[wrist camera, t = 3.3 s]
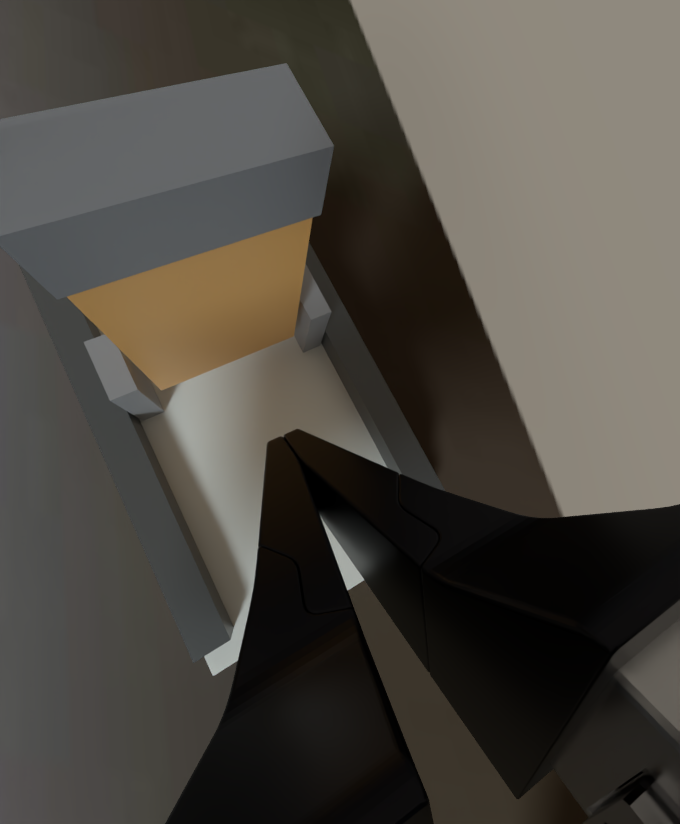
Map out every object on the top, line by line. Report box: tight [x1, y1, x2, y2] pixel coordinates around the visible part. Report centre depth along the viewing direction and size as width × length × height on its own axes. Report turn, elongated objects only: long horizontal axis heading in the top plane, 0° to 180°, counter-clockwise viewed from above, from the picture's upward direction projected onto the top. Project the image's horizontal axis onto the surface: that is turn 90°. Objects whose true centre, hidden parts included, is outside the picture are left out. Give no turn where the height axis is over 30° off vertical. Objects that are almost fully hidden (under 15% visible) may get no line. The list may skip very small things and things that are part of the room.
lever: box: [0, 63, 334, 391], centre depth 10 cm, size 2×5×8 cm, turn 118°
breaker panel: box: [19, 243, 445, 676], centre depth 15 cm, size 20×10×6 cm, turn 28°
